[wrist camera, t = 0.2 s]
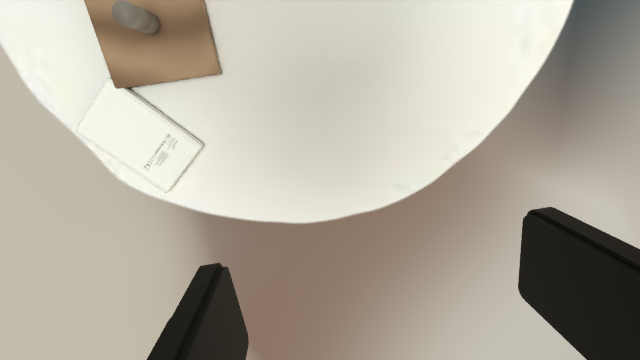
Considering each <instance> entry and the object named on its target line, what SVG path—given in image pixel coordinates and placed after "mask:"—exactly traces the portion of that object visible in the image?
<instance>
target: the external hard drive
mask: <svg viewBox="0 0 640 360" xmlns="http://www.w3.org/2000/svg"><path fill="white" fill-rule="evenodd" d="M75 132H76V133H77V134H79V135H80V136H82V137H83V138H85V139H86V140H88V141H89V142H91V143H92V144H94V145H95V146H97V147H98V148H100V149H101V150H103V151H104V152H106V153H107V154H109V155H110V156H112V157H113V158H115V159H116V160H118V161H119V162H121V163H122V164H124V165H125V166H127V167H128V168H130V169H131V170H133V171H134V172H136V173H137V174H139V175H140V176H142V177H143V178H145V179H146V180H148V181H149V182H151V183H152V184H154V185H155V186H157V187H158V188H159V189H161V190H162V191H164V192H165V193H167V192H169V191H170V190H171V188H172V187H173V186H174V185H175V183H176V182H177V181H178V179H179V178H180V177H181V175H182V174H183V173H184V171H185V170H186V169H187V168H188V166H189V165H190V164H191V162H192V161H193V160H194V158H195V157H196V156H197V154H198V153H199V152H200V150H201V149H202V148H203V146H204V144H203V143H202V142H200V141H199V140H198V139H196V138H195V137H194V136H192V135H191V134H190V133H188V132H187V131H186V130H184V129H183V128H182V127H180V126H179V125H178V124H176V123H175V122H174V121H172V120H171V119H170V118H168V117H167V116H166V115H164V114H163V113H161V112H160V111H159V110H157V109H156V108H155V107H153V106H152V105H151V104H149V103H148V102H147V101H145V100H144V99H143V98H141V97H140V96H138V95H137V94H136V93H134V92H133V91H132V90H130V89H129V88H120V89H117V88H115V87H114V84H113V81H112V78H109V79H108V80H107V81H106V83H105V84H104V86H103V87H102V89H101V91H100V92H99V94H98V95H97V97H96V98H95V100H94V102H93V103H92V105H91V106H90V108H89V109H88V111H87V112H86V114H85V116H84V117H83V119H82V120H81V122H80V123H79V125H78V126H77V128H76V130H75Z"/></svg>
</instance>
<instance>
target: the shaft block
mask: <svg viewBox="0 0 640 360" xmlns="http://www.w3.org/2000/svg"><path fill="white" fill-rule="evenodd" d="M84 1H85V4H86V7H87V10H88V13H89V16H90V18H91V21H92V24H93V27H94V30H95V33H96V36H97V38H98V41H99V44H100V47H101V50H102V53H103V55H104V58H105V61H106V64H107V67H108V70H109V72H110V75H111V78H112V81H113V84H114V87H115V88H117V89H120V88H132V87H138V86H145V85H151V84H158V83H164V82H171V81H177V80H184V79H190V78H197V77H203V76H209V75H216V74H222V73H221V69H220V64H219V60H218V56H217V52H216V48H215V44H214V39H213V35H212V31H211V27H210V23H209V18H208V14H207V10H206V6H205V2H204V0H84Z"/></svg>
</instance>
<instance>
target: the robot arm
mask: <svg viewBox="0 0 640 360" xmlns="http://www.w3.org/2000/svg"><path fill="white" fill-rule="evenodd" d="M518 289H519V292H520V294H521V296H522V298H523V299H524V300H525V301H526V302H527V303H528V304H530V306H531V307H532V308H534V309H535V310H536V311H537V312H538V313H539V314H540V315H541V316H542V317H543V318H544V319H545V320H546V321H547V322H548V323H549V324H550V325H551V326H552V327H553V328H554V329H555V330H556V331H557V332H559V333H560V334H561V335H562V336H563V337H564V338H565V339H566V340H567V341H568V342H569V343H570V344H571V345H572V346H573V347H574V348H575V349H576V350H577V351H578V352H579V353H581V354H582V355H583V356H584V357H585V358H586V359H587V360H640V249H638V248H636V247H634V246H632V245H630V244H628V243H626V242H623V241H621V240H619V239H617V238H615V237H613V236H611V235H609V234H607V233H605V232H603V231H601V230H599V229H597V228H595V227H593V226H590V225H588V224H586V223H584V222H582V221H580V220H578V219H576V218H574V217H572V216H569V215H568V214H565V213H564V212H561V211H560V210H557V209H555V208H552V207H547V208H541V209H535V210H531V211H529V212H528V214H527V216H525V217H524V219H523V227H522V241H521V254H520V269H519V283H518ZM247 350H248V333H247V330H246V326H245V323H244V320H243V316H242V313H241V309H240V306H239V303H238V299H237V296H236V292H235V289H234V286H233V282H232V279H231V275H230V272H229V269H228V267H222V265H221V264H220V263H216V264H210V265H203V266H200V267H199V269H198V270H197V272H196V274H195V276H194V278H193V280H192V281H191V283H190V285H189V287H188V288H187V291H186V292H185V294H184V296H183V298H182V299H181V301H180V303H179V305H178V307H177V308H176V310H175V312H174V314H173V316H172V317H171V318H170V320H169V321H168V322H167V324H166V326H165V328H164V330H163V331H162V333H161V335H160V337H159V339H158V340H157V342H156V344H155V346H154V347H153V349H152V351H151V353H150V355H149V356H148V358H147V360H245V359H246V355H247Z"/></svg>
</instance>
